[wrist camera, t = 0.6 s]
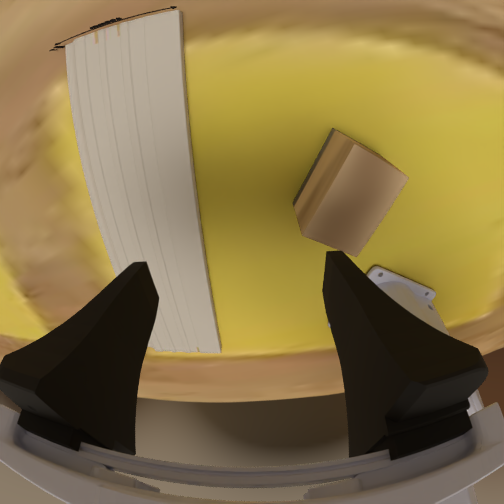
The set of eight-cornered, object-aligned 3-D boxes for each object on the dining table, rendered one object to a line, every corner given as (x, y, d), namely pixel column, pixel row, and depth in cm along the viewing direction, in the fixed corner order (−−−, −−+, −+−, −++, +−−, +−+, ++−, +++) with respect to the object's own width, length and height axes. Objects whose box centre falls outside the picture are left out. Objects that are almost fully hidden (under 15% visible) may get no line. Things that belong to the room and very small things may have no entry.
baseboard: (137, 339, 30) (222, 342, 30) (131, 359, 28) (220, 363, 28) (57, 51, 13) (185, 13, 13) (34, 52, 10) (174, 3, 10)
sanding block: (379, 154, 18) (409, 177, 14) (338, 222, 21) (356, 257, 17) (332, 127, 17) (354, 143, 13) (292, 202, 20) (302, 235, 16)
